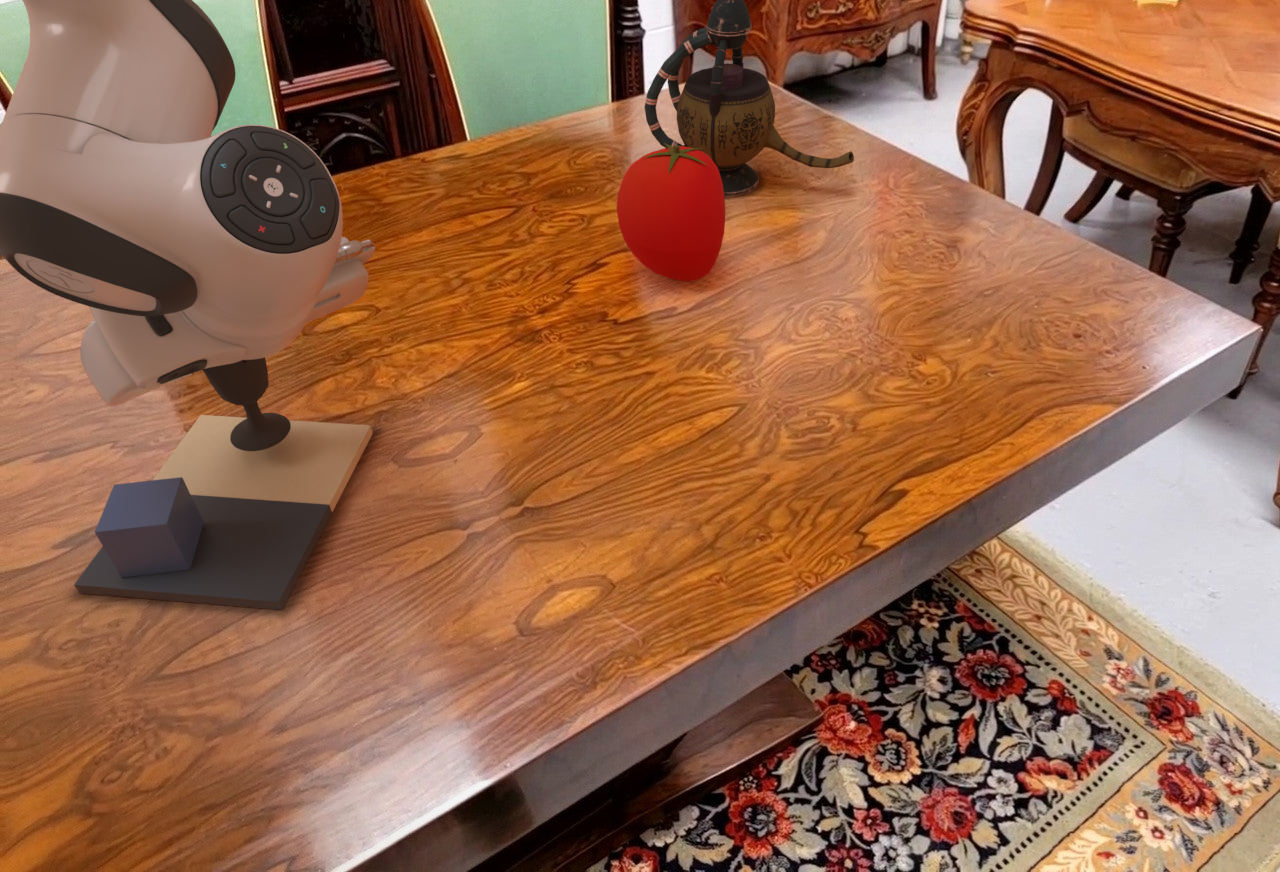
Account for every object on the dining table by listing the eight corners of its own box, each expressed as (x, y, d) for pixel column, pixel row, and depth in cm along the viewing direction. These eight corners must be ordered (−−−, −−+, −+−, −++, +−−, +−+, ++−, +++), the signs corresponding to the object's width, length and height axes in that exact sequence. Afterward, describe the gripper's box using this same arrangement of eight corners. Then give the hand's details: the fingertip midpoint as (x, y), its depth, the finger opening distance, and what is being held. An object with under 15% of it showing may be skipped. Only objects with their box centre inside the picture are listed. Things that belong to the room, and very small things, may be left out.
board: (79, 593, 70) (73, 584, 69) (204, 422, 85) (200, 414, 84) (282, 610, 68) (278, 601, 68) (373, 433, 83) (370, 424, 83)
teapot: (671, 153, 127) (671, -33, 111) (856, 176, 120) (883, -18, 105) (642, 192, 118) (638, -4, 103) (840, 219, 112) (866, 14, 96)
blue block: (121, 578, 70) (94, 532, 66) (138, 530, 73) (113, 484, 70) (190, 570, 70) (166, 523, 67) (204, 522, 74) (182, 476, 71)
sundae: (240, 470, 76) (175, 314, 66) (207, 431, 80) (142, 278, 70) (315, 434, 79) (264, 280, 69) (280, 398, 83) (227, 248, 73)
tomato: (748, 275, 102) (756, 151, 93) (669, 313, 97) (669, 186, 88) (674, 233, 110) (674, 115, 101) (596, 266, 105) (589, 144, 95)
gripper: (357, 197, 67) (324, 266, 79) (60, 307, 57) (74, 367, 69) (402, 273, 68) (362, 331, 80) (115, 396, 57) (119, 441, 69)
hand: (226, 349), depth 74 cm, fingers closed on sundae, 6 cm apart
